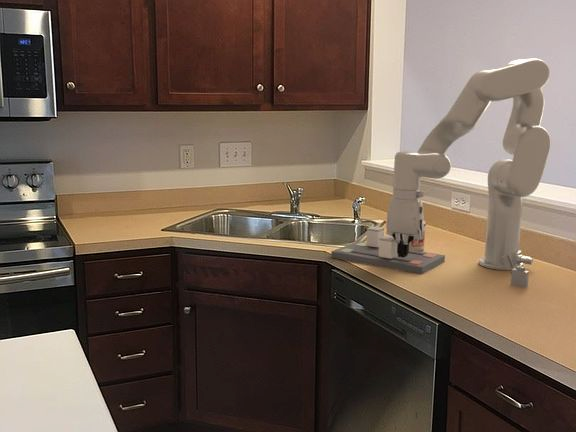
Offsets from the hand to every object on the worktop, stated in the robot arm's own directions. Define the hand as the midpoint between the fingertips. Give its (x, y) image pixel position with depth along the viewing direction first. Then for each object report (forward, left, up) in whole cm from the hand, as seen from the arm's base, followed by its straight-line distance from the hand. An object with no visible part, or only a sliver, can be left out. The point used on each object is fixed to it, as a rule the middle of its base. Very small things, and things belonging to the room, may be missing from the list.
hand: (402, 256), depth 192 cm
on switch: (+14, -10, -1) cm, 17 cm away
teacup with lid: (+7, -24, -4) cm, 25 cm away
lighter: (-32, -2, -4) cm, 32 cm away
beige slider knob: (+5, 0, -1) cm, 5 cm away
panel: (+7, -5, -3) cm, 9 cm away
